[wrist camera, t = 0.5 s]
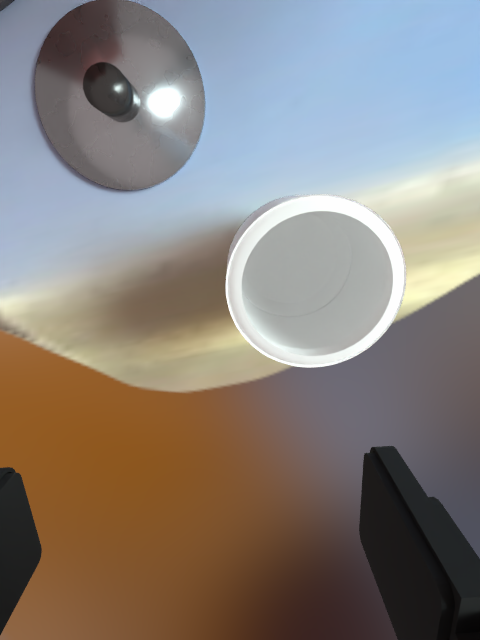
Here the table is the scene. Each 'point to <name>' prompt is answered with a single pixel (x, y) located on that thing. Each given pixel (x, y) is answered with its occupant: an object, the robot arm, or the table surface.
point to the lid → (120, 94)
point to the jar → (314, 279)
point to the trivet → (4, 3)
